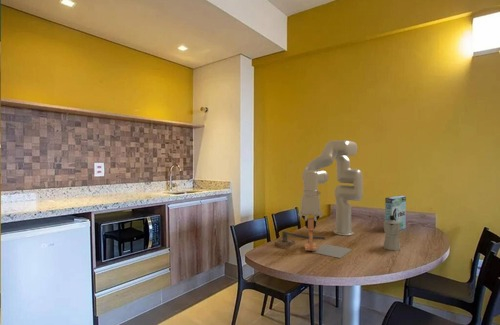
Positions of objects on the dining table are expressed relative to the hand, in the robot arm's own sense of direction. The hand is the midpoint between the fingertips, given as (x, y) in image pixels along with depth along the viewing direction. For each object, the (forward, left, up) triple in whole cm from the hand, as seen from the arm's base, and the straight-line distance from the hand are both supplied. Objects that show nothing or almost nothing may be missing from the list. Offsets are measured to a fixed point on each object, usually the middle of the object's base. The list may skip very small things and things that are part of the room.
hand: (310, 227), depth 154 cm
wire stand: (+1, -6, -12) cm, 13 cm away
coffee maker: (-31, +34, -12) cm, 47 cm away
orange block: (0, 0, -11) cm, 11 cm away
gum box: (-76, +27, -12) cm, 82 cm away
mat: (-5, +10, -12) cm, 16 cm away
